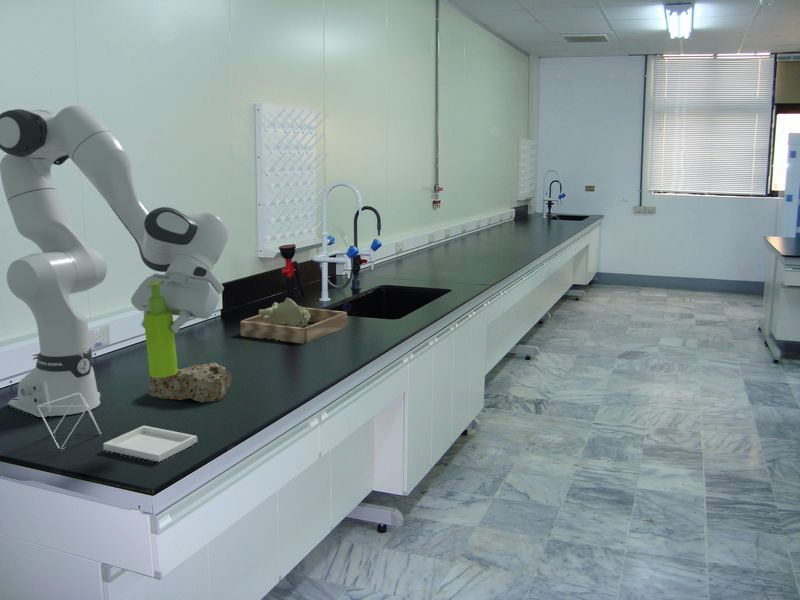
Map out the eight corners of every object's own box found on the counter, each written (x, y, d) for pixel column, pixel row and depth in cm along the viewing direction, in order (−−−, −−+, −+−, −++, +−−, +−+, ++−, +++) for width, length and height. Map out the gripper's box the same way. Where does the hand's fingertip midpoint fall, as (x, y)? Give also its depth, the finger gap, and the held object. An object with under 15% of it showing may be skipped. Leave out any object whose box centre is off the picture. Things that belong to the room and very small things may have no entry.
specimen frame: (239, 335, 264) (238, 321, 263) (287, 318, 291) (287, 305, 291) (305, 343, 254) (304, 329, 253) (348, 325, 281) (348, 312, 280)
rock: (140, 403, 196) (140, 364, 197) (174, 399, 210) (174, 363, 211) (210, 403, 190) (210, 362, 190) (240, 399, 203) (240, 361, 204)
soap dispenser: (181, 368, 170) (173, 279, 166) (174, 376, 163) (165, 283, 159) (155, 369, 169) (146, 280, 166) (146, 378, 163) (136, 285, 159)
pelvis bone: (269, 314, 284) (301, 292, 284) (289, 345, 282) (321, 323, 281) (251, 307, 265) (285, 283, 264) (271, 341, 262) (306, 317, 261)
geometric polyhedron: (96, 427, 176) (93, 389, 175) (106, 442, 167) (103, 402, 165) (37, 438, 170) (33, 398, 168) (44, 454, 161) (40, 413, 159)
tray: (103, 451, 162) (103, 443, 162) (144, 433, 173) (143, 425, 172) (159, 463, 156) (158, 455, 156) (197, 443, 167) (197, 436, 166)
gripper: (142, 265, 172) (112, 315, 165) (217, 272, 164) (189, 325, 157) (157, 281, 177) (129, 331, 170) (230, 289, 169) (203, 341, 162)
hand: (158, 328), depth 164 cm, fingers closed on soap dispenser, 6 cm apart
